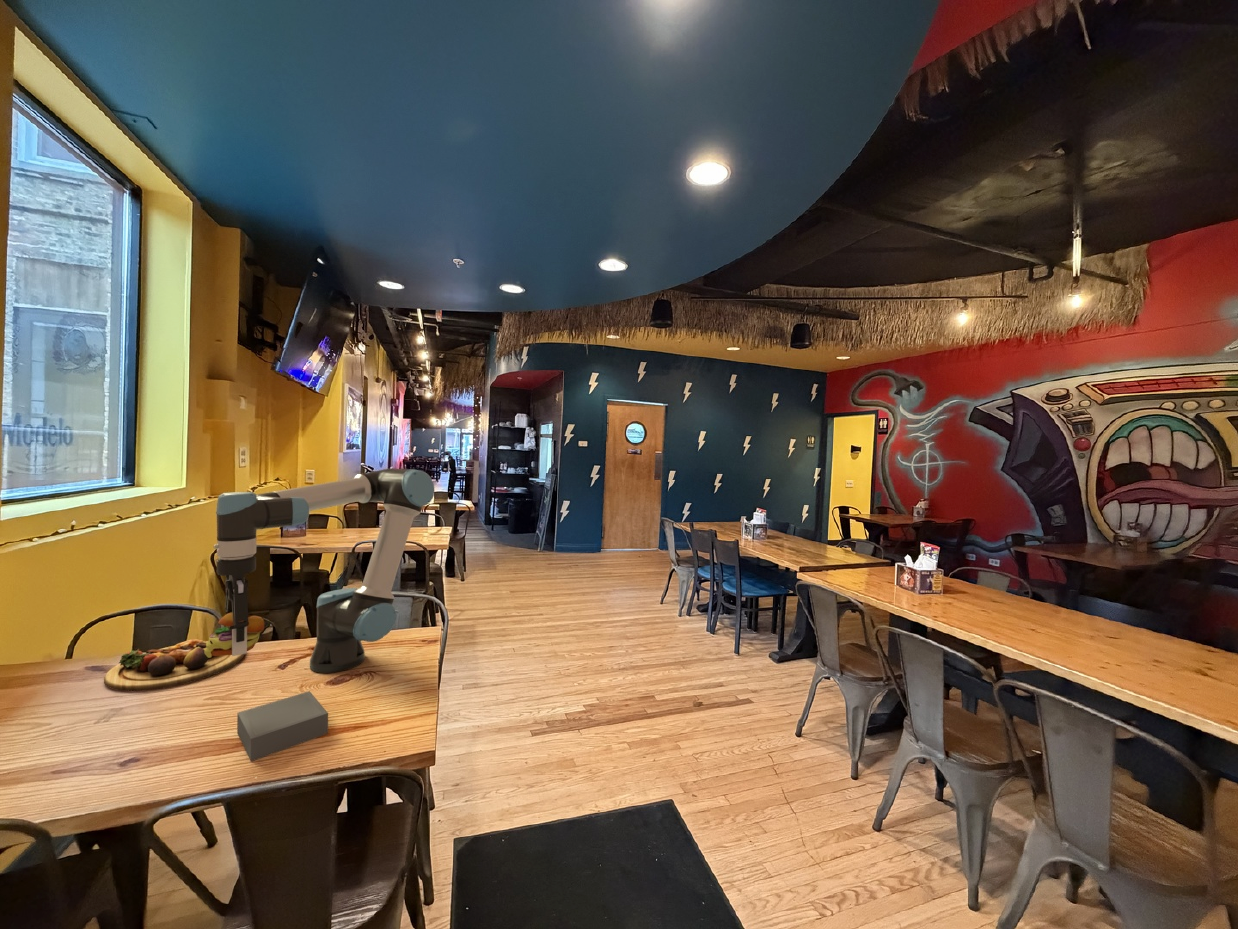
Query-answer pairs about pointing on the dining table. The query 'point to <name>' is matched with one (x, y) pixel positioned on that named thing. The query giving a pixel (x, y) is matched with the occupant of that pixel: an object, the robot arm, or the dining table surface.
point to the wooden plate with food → (166, 667)
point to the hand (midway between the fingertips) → (236, 647)
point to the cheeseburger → (223, 636)
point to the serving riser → (281, 725)
